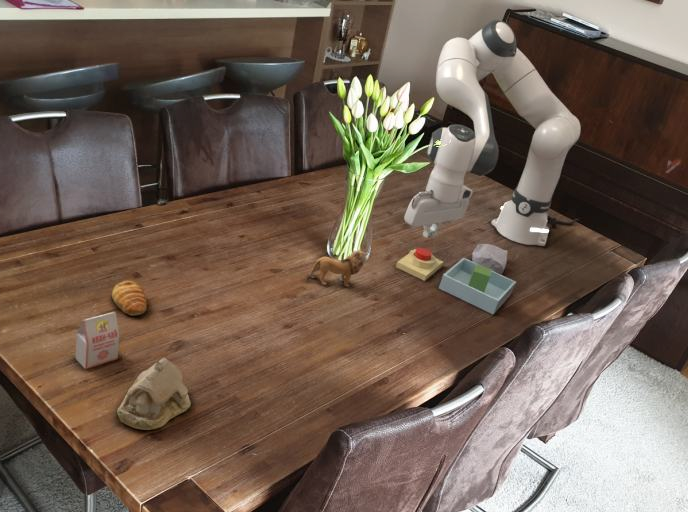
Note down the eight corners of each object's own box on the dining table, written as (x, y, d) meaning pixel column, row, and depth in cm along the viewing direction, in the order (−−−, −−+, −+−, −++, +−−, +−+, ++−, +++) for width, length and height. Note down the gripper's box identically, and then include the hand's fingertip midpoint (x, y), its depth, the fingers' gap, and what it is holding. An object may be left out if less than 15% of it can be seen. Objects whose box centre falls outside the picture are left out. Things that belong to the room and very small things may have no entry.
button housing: (413, 253, 215) (417, 243, 213) (441, 266, 212) (445, 256, 210) (395, 267, 206) (398, 256, 204) (424, 281, 203) (428, 269, 201)
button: (418, 251, 210) (420, 246, 209) (432, 258, 208) (434, 252, 207) (411, 256, 206) (413, 250, 205) (425, 263, 205) (427, 257, 204)
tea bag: (75, 358, 144) (77, 315, 139) (107, 348, 149) (110, 306, 143) (85, 369, 142) (87, 325, 137) (117, 359, 147) (120, 316, 141)
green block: (468, 282, 206) (475, 264, 203) (484, 288, 206) (491, 269, 203) (466, 290, 203) (474, 271, 199) (482, 295, 202) (490, 276, 199)
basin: (458, 270, 213) (463, 257, 211) (511, 295, 208) (516, 281, 206) (438, 288, 201) (443, 274, 199) (493, 314, 197) (498, 300, 194)
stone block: (470, 272, 218) (505, 276, 216) (472, 256, 215) (507, 260, 214) (472, 256, 228) (505, 260, 226) (474, 241, 225) (508, 245, 224)
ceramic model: (145, 376, 145) (149, 334, 139) (198, 397, 143) (205, 355, 138) (105, 418, 133) (108, 373, 128) (162, 441, 132) (168, 397, 126)
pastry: (153, 315, 161) (155, 301, 159) (122, 319, 158) (123, 304, 156) (139, 292, 167) (140, 277, 165) (108, 295, 164) (109, 280, 162)
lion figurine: (355, 276, 196) (363, 246, 191) (362, 287, 192) (371, 257, 187) (302, 275, 190) (309, 244, 185) (308, 287, 186) (316, 255, 181)
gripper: (424, 198, 188) (408, 246, 196) (477, 191, 201) (461, 237, 208) (407, 187, 191) (393, 235, 199) (460, 180, 204) (445, 226, 212)
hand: (428, 236), depth 204 cm, fingers closed
